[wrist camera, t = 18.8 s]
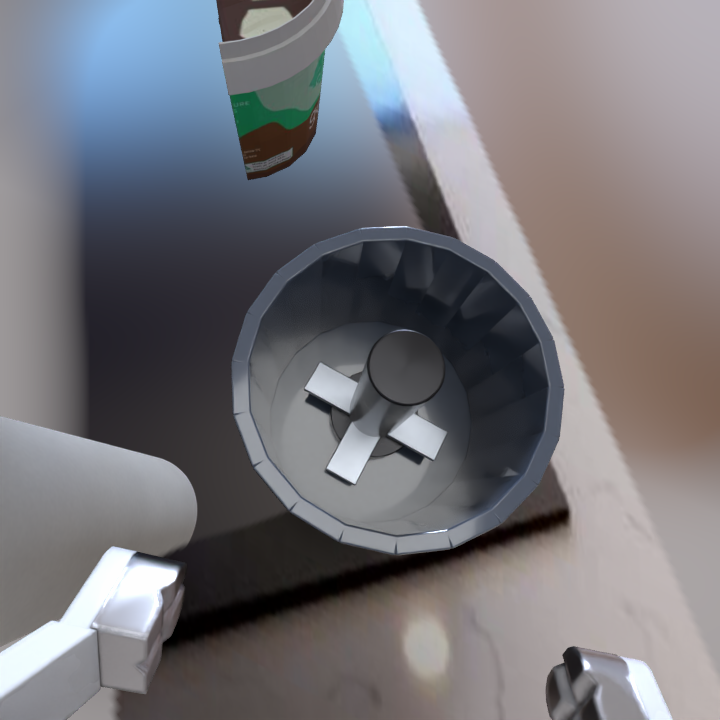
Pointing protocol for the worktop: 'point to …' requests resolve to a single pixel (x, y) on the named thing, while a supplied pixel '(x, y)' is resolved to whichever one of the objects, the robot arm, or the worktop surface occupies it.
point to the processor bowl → (446, 409)
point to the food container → (275, 75)
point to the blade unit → (382, 402)
